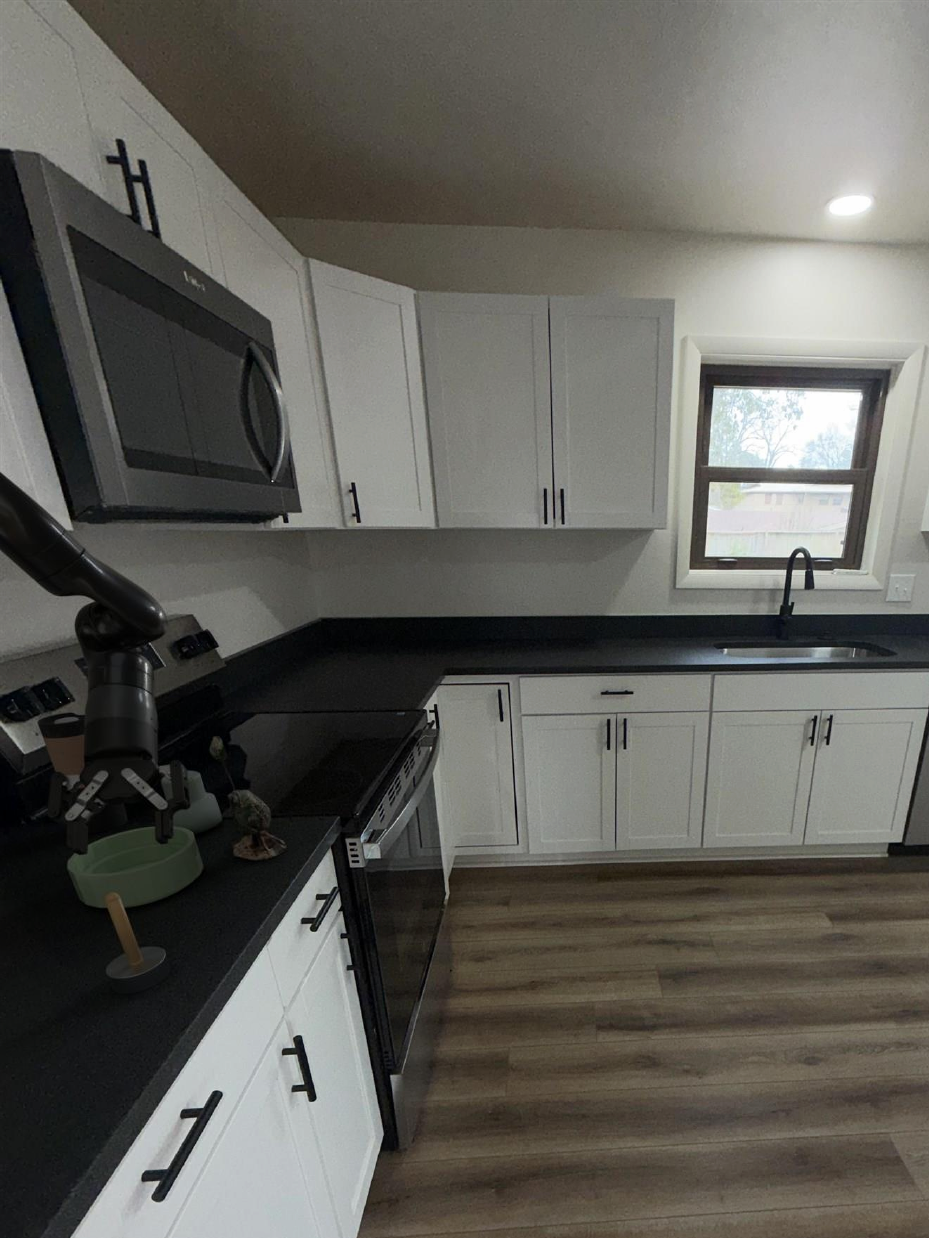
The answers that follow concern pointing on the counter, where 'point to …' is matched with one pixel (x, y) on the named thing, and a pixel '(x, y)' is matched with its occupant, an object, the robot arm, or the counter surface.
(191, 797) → the air freshener
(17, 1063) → the counter surface
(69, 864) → the bowl
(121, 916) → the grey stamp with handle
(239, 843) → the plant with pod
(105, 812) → the travel mug
